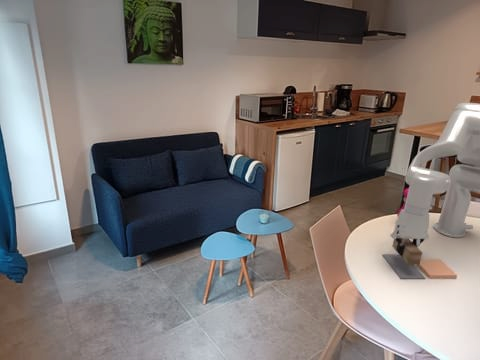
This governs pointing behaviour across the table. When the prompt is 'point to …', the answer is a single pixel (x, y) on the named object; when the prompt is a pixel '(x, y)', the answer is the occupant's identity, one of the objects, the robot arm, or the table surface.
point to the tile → (436, 269)
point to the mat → (402, 267)
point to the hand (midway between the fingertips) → (405, 253)
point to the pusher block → (409, 252)
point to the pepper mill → (404, 200)
